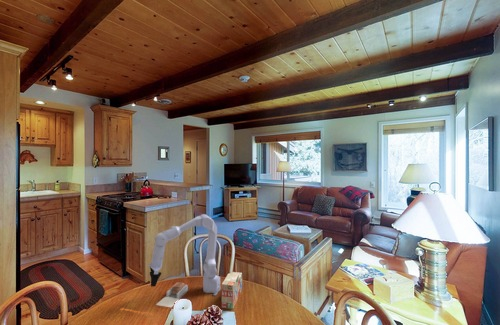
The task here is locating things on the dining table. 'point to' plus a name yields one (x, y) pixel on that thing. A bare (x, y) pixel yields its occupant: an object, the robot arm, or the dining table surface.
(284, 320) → the dining table surface
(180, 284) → the block
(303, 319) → the dining table surface
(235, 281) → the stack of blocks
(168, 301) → the chute
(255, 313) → the dining table surface
